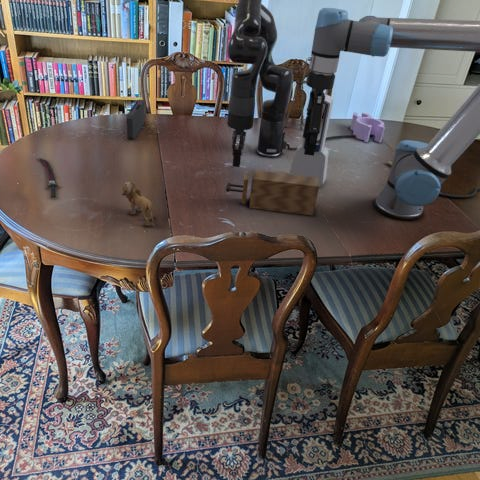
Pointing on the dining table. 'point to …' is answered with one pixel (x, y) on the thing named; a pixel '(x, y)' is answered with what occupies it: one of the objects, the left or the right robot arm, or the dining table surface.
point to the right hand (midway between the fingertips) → (307, 146)
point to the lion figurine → (137, 201)
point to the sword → (52, 181)
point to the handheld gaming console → (135, 119)
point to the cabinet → (284, 192)
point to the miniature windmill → (296, 68)
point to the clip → (367, 127)
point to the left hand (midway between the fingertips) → (236, 166)
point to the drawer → (241, 187)
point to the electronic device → (318, 162)
